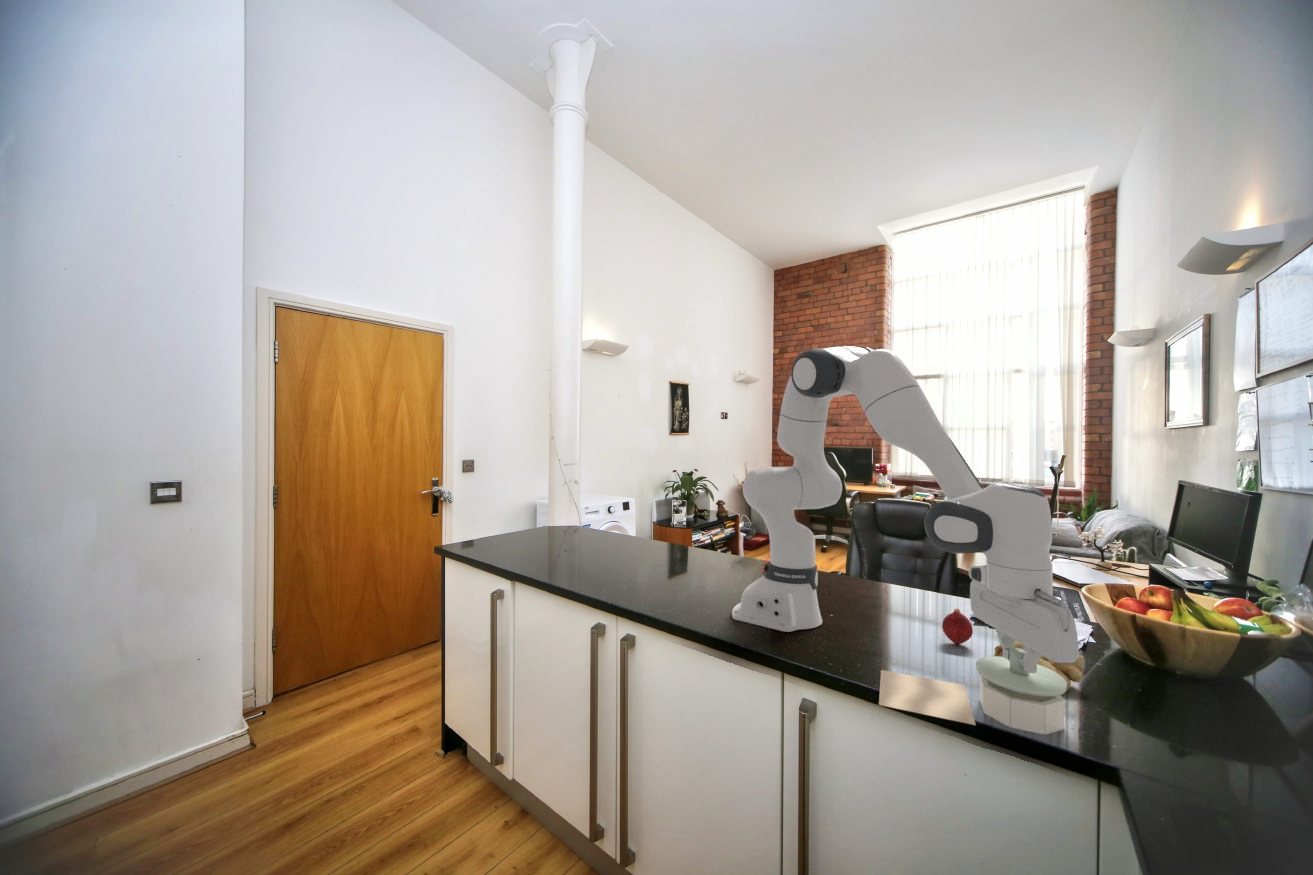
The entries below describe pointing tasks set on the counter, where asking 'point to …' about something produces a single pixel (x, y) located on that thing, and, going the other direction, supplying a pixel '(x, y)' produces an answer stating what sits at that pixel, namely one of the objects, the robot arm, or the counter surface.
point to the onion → (957, 627)
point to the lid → (1020, 675)
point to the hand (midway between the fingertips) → (1019, 665)
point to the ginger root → (1056, 665)
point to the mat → (925, 697)
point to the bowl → (1022, 708)
